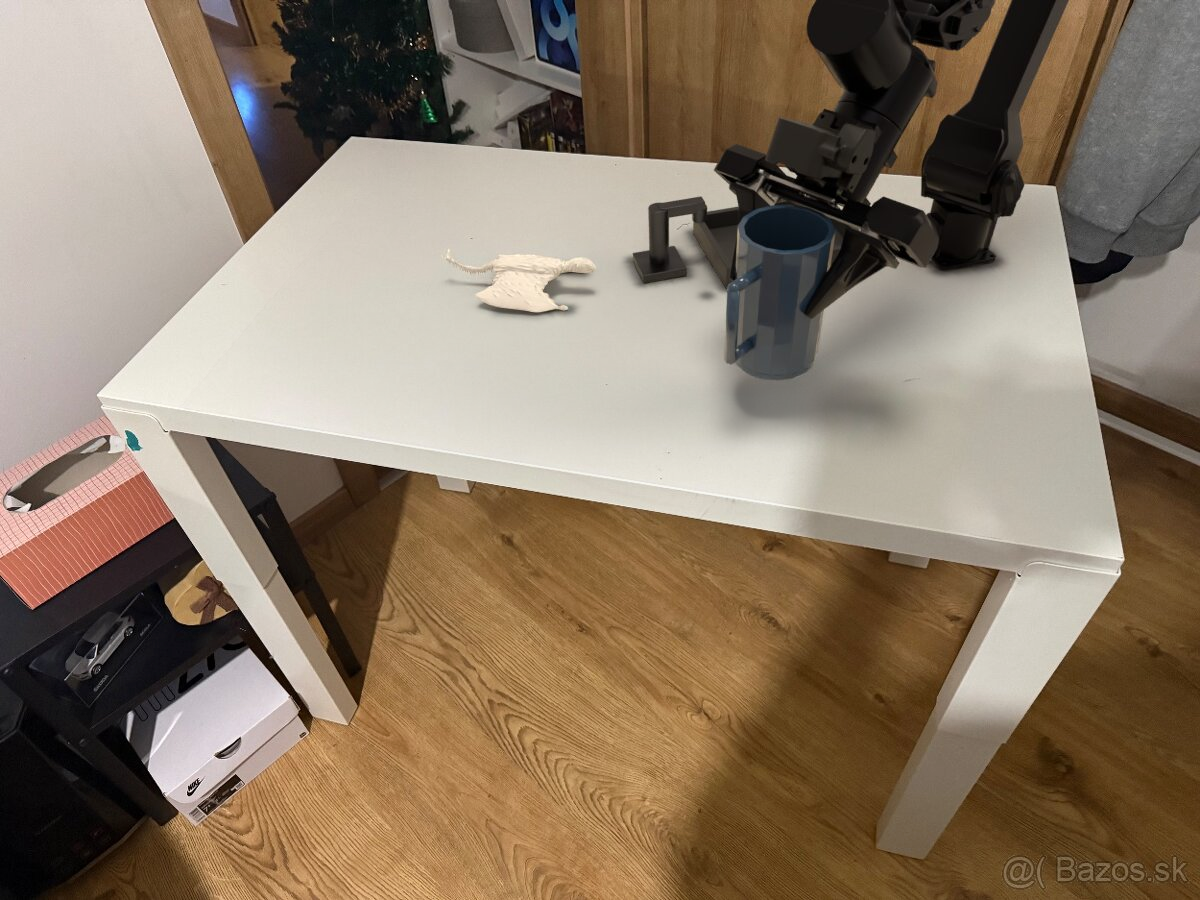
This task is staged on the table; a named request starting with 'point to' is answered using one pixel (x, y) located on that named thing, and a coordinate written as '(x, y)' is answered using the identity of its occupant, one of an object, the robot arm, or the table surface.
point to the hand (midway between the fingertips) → (769, 298)
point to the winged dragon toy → (524, 280)
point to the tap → (666, 239)
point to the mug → (777, 291)
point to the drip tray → (722, 234)
